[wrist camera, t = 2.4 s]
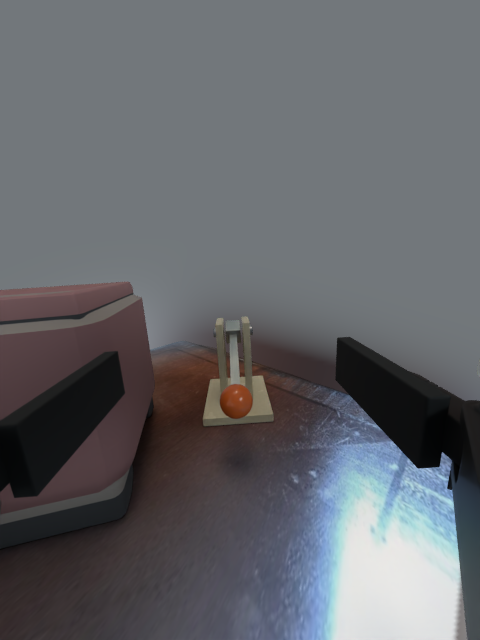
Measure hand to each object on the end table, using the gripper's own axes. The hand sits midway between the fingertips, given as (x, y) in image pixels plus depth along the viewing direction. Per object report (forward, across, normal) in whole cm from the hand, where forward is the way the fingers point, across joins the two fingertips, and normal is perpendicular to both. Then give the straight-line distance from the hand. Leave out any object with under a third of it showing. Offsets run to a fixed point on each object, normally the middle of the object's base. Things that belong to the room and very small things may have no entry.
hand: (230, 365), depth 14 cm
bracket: (+22, 0, -16) cm, 27 cm away
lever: (+16, 0, -8) cm, 18 cm away
